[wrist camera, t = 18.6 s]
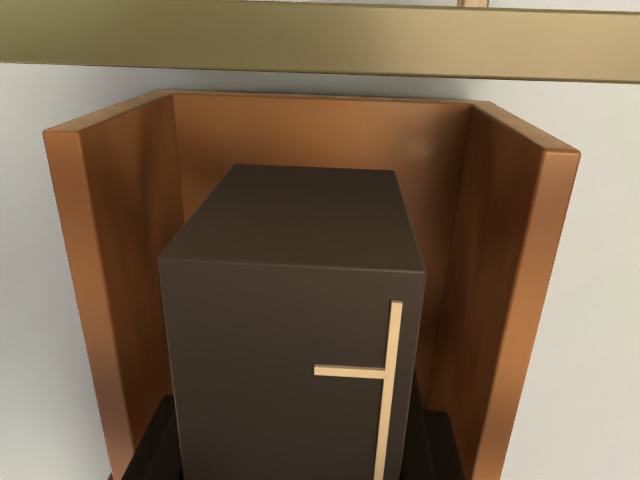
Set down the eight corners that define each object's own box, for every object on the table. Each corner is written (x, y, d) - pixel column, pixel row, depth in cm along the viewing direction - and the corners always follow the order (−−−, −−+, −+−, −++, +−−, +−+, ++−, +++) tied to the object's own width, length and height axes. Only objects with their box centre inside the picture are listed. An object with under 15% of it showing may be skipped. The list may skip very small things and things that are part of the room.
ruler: (233, 162, 9) (153, 258, 5) (395, 169, 9) (428, 272, 5) (250, 545, 13) (213, 745, 10) (359, 554, 13) (364, 758, 10)
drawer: (104, -210, 13) (-137, -443, 7) (564, -203, 13) (798, -442, 6) (179, 423, 23) (110, 590, 16) (448, 438, 22) (492, 616, 16)
